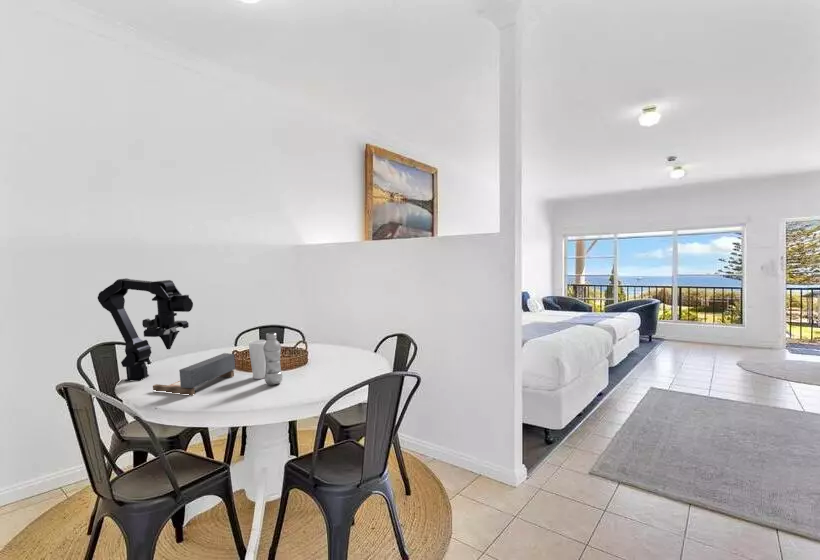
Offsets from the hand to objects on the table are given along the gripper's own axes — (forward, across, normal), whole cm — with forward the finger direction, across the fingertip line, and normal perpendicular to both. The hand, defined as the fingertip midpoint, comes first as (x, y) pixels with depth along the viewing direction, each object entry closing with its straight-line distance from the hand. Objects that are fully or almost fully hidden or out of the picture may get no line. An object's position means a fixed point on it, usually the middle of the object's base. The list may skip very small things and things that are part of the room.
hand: (168, 349), depth 170 cm
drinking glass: (+12, -5, +37) cm, 39 cm away
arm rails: (+13, +4, +14) cm, 19 cm away
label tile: (+13, +4, +10) cm, 17 cm away
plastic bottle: (+12, +2, +46) cm, 48 cm away
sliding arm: (+9, +5, +21) cm, 24 cm away
